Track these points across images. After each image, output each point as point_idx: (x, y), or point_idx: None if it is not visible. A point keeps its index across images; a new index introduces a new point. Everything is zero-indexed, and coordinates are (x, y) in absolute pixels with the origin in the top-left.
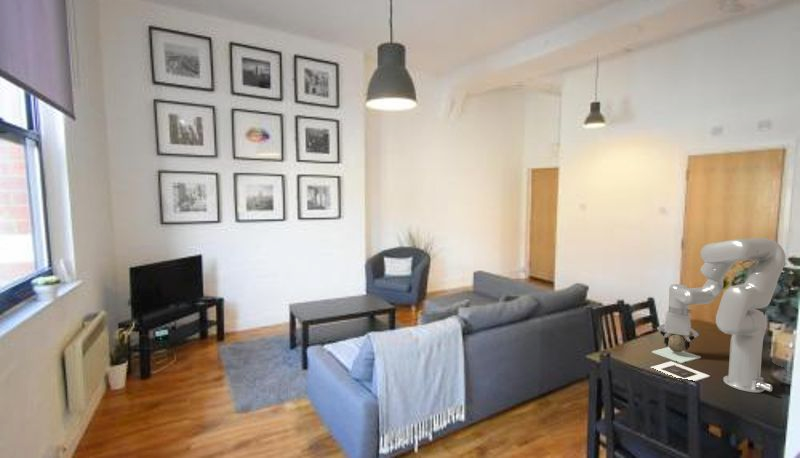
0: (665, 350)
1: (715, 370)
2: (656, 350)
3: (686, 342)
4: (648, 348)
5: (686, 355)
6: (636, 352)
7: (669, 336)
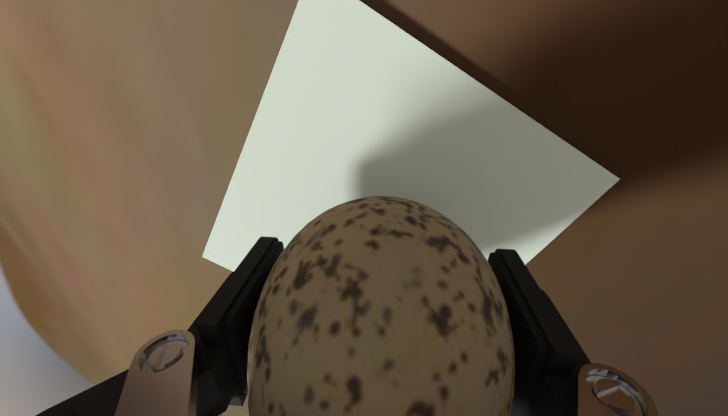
0: (287, 176)
1: (617, 369)
2: (223, 220)
3: (512, 410)
4: (149, 165)
5: (472, 216)
6: (133, 297)
7: (247, 380)
